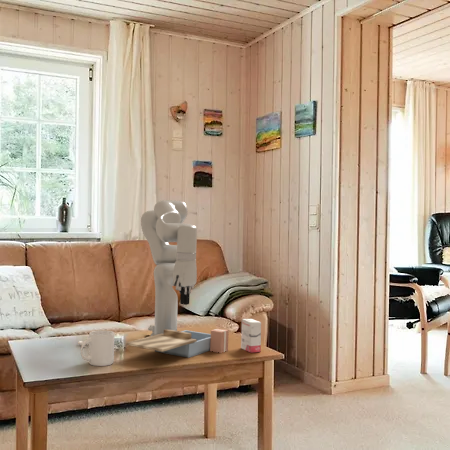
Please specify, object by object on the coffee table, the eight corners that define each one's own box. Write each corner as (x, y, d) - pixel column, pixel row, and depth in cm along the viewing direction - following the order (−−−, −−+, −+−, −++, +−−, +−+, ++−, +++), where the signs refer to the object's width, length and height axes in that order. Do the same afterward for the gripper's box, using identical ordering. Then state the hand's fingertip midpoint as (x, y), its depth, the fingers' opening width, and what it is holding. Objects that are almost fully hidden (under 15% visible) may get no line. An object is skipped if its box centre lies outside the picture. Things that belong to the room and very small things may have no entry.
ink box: (261, 352, 227) (262, 322, 227) (249, 353, 225) (250, 322, 225) (251, 347, 235) (252, 318, 235) (240, 348, 233) (241, 318, 233)
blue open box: (154, 351, 224) (155, 338, 224) (185, 342, 241) (185, 330, 240) (188, 357, 215) (189, 344, 215) (218, 347, 232) (218, 335, 232)
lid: (126, 344, 210) (126, 337, 210) (161, 335, 227) (161, 328, 227) (162, 351, 201) (162, 343, 201) (196, 341, 219) (196, 334, 219)
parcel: (210, 351, 226) (210, 330, 226) (217, 348, 231) (217, 328, 230) (221, 353, 224) (221, 332, 223) (228, 350, 228) (228, 330, 228)
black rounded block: (74, 346, 229) (75, 336, 229) (87, 343, 236) (87, 333, 236) (93, 349, 225) (93, 339, 225) (105, 345, 233) (105, 335, 233)
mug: (75, 363, 203) (75, 332, 202) (106, 359, 210) (107, 329, 210) (85, 369, 196) (86, 337, 196) (118, 364, 203) (118, 333, 203)
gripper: (189, 255, 234) (188, 300, 234) (166, 257, 221) (165, 305, 222) (205, 256, 230) (203, 302, 230) (182, 259, 217) (180, 308, 218)
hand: (184, 304), depth 226 cm, fingers closed
